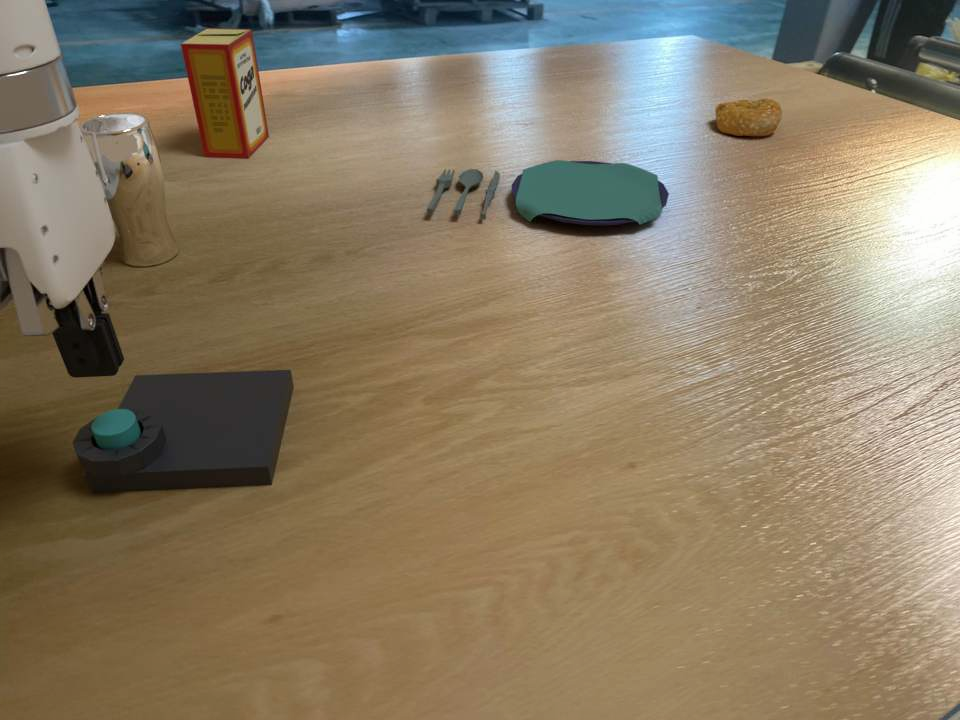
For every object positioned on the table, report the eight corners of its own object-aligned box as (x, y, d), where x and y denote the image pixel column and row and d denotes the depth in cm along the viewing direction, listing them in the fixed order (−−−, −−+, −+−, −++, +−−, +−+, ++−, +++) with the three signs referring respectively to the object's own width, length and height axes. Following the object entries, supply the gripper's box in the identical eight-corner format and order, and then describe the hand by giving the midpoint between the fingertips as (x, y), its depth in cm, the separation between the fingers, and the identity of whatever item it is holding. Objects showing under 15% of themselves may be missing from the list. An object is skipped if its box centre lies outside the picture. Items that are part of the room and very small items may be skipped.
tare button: (91, 452, 55) (84, 436, 54) (105, 425, 57) (99, 409, 56) (133, 450, 55) (128, 434, 54) (146, 423, 57) (140, 407, 56)
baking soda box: (248, 158, 111) (227, 42, 101) (204, 156, 111) (180, 41, 102) (269, 136, 118) (251, 26, 109) (228, 135, 119) (207, 25, 110)
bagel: (750, 115, 127) (756, 86, 124) (792, 136, 118) (799, 105, 116) (698, 121, 124) (703, 91, 122) (737, 143, 116) (743, 112, 113)
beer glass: (132, 240, 89) (95, 111, 80) (191, 240, 89) (160, 112, 80) (107, 268, 83) (63, 133, 75) (170, 269, 83) (133, 134, 74)
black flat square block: (75, 498, 55) (60, 462, 53) (129, 393, 65) (118, 359, 63) (271, 489, 56) (263, 454, 54) (294, 386, 66) (288, 353, 64)
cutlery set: (672, 242, 89) (675, 224, 87) (419, 226, 92) (418, 209, 91) (662, 177, 105) (664, 161, 103) (447, 166, 108) (446, 150, 107)
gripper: (-10, 64, 48) (81, 315, 58) (-159, 146, 35) (-9, 445, 46) (112, 61, 48) (181, 311, 58) (7, 141, 36) (118, 438, 46)
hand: (97, 369), depth 52 cm, fingers closed
